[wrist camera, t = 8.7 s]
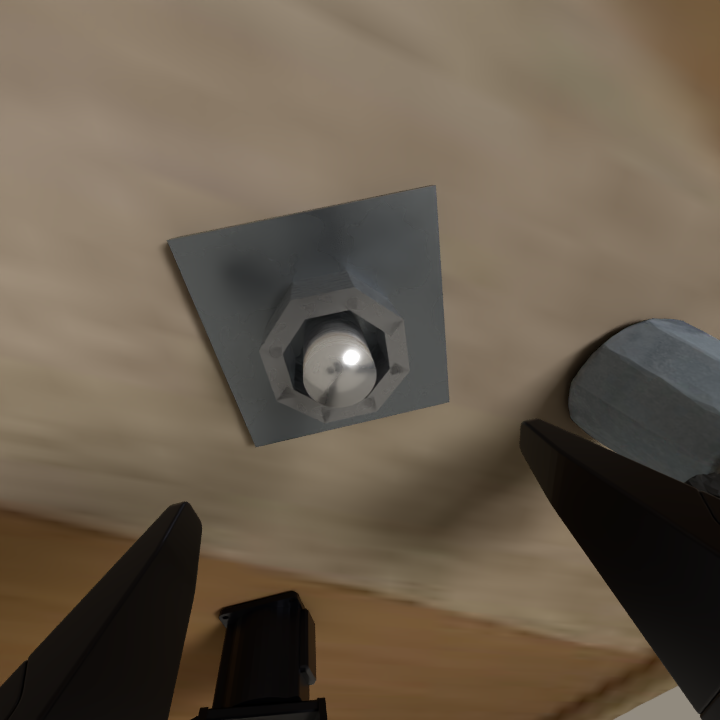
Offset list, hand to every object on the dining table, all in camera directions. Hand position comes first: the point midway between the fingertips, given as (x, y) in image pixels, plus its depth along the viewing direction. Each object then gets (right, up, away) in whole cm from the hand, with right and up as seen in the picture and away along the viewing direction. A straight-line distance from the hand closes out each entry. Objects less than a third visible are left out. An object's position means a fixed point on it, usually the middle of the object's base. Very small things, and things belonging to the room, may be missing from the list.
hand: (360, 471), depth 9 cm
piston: (-2, +4, +9) cm, 10 cm away
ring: (-1, +4, +9) cm, 10 cm away
